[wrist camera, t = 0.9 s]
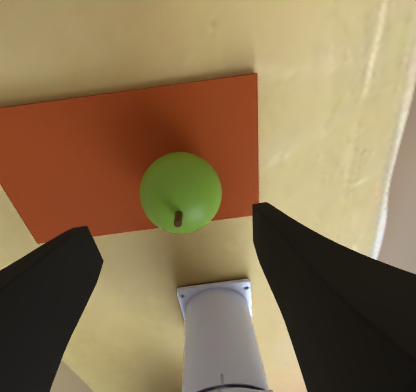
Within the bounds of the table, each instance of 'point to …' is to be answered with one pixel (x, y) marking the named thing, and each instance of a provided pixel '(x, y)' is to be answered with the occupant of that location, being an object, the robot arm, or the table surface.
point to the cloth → (125, 152)
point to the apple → (180, 192)
